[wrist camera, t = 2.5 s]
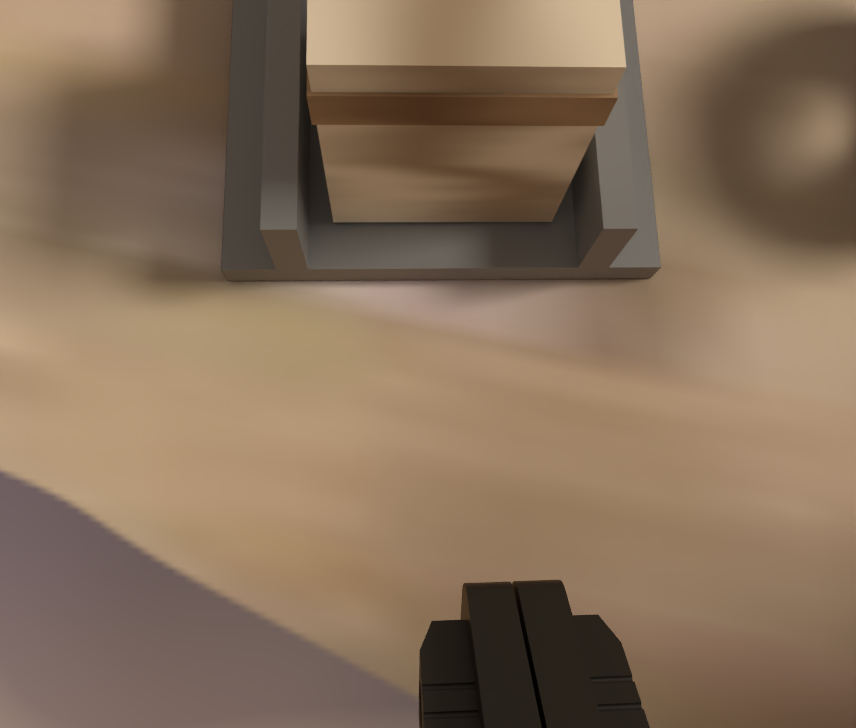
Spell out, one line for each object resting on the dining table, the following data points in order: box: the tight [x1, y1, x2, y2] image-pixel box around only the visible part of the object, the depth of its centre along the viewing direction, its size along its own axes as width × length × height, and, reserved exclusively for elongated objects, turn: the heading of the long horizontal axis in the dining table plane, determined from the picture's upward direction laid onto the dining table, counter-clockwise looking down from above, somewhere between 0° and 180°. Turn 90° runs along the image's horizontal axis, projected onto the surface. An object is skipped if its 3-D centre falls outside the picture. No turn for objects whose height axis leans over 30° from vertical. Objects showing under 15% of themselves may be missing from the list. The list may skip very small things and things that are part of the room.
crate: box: [306, 0, 626, 222], centre depth 21 cm, size 7×7×8 cm
